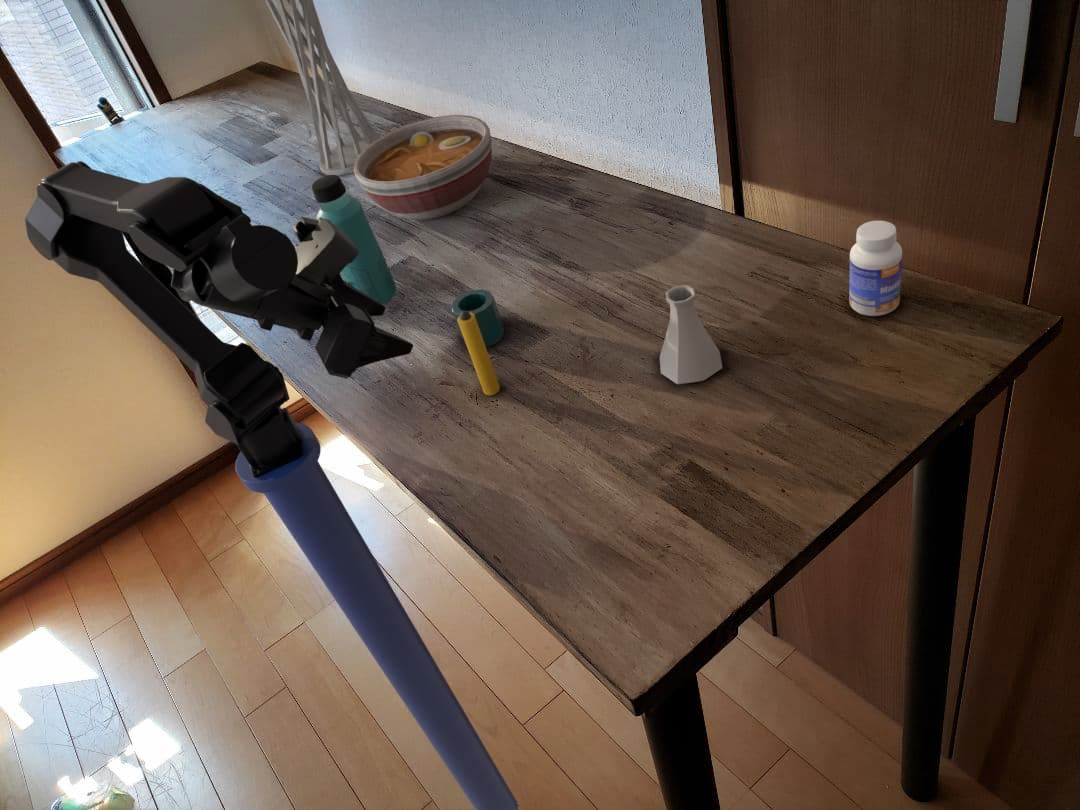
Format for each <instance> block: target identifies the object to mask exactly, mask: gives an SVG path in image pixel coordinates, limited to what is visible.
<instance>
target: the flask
mask: <svg viewBox="0 0 1080 810" xmlns="http://www.w3.org/2000/svg"><path fill="white" fill-rule="evenodd" d="M695 291H696V290H695V288H693V286H690V285H688V284H681V285H675V286H674V287H671V288H670V289H669V290H667V291H665V298H666V303H668V304H669V308H670V309H669V310H670V312H669V314H670V315H669V321H668V326H667V329H666V335H665V338H664V340H663V343H662V347H661V350H660V354H659V365H660V366H659V367H660V368H659V369H660V374H661V375H663V376H664V377H666V378H667V379H669V380H670V381H672V382H673V383H674V384H676V385H683V384H690V383H697V382H704V381H706V380H707V379H708V378H710V377H711V376H713V375H715V374H716V373H717V372H719V371H720V370H722V369H723V362H722V358H721V357H722V356H721V352H720V350H719V348H718V347H717V345H716V344H715V342H714V340H713V339H712V337H711V336H710V334H709V333H708V331H707V329H706V328H705V326H704V324H703V323H702V321H701V319H700V317H699V315H698V312H697V310H696V307H695V303H694V301H695V300H696V292H695Z"/></svg>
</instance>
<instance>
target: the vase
mask: <svg viewBox="0 0 1080 810" xmlns="http://www.w3.org/2000/svg"><path fill="white" fill-rule="evenodd" d="M263 1H264V3H265V4H266V6H267V7H268V9H269V12H270V14H271V15H272V17H273V19H274V21H275V23H276V24H277V26H278V28H279V31H280V32H281V34H282V36H283V38H284V40H285V42H286V44H287V45H288V48H289V50H290V52H291V53H292V56H293V59H294V62H295V64H296V68H297V70H298V75H299V77H300V79H301V83H302V86H303V90H304V93H305V95H306V98H307V101H308V104H309V107H310V111H311V116H312V121H313V127H314V131H315V136H316V142H317V147H318V153H319V158H320V159H319V162H318V167H319V169H320V172H321V173H323V174H325V175H326V176H328V175H337V176H339V177H340V176H344V175H348V174H352V173H355V172H354V165H355V162H356V160H357V158H358V156H359V155H360V154H361V153H362V152H363V151H364V149H366V148H367V147H368V146H369V145H370V144H372V143H373V142H374V141H376V140H378V139H379V138H380V137H379V135H378V134H377V133H376V131H375V129H374V128H373V126H372V125H371V123H370V122H369V120H368V118H367V117H366V115H365V113H364V112H363V111H362V109H361V108H360V106H359V104H358V102H357V101H356V100H355V98H354V96H353V94H352V93H351V92H350V90H349V87H348V86H347V84H346V82H345V79H344V77H343V75H342V73H341V71H340V69H339V67H338V65H337V63H336V61H335V59H334V57H333V55H332V53H331V50H330V49H329V47H328V44H327V41H326V38H325V34H324V31H323V28H322V25H321V22H320V19H319V15H318V13H317V10H316V7H315V4H314V3H315V2H314V0H298V3H299V5H300V6H301V11H302V14H301V12H300V11H299V9H298V8H297V2H296V0H285V1H286V2H287V4H288V5H289V7H290V11H291V15H292V16H291V15H290V13H289V12H288V11H287V9H286V8H285V5H284V3H283V0H263ZM301 26H302V27H303V29H304V31H305V34H303V32H302V30H301ZM294 34H295V35H296V37H295V35H294ZM315 48H316V49H317V52H316V51H315V50H316V49H315ZM305 50H306V51H307V52H308V55H307V54H306V51H305ZM318 67H319V69H320V70H321V73H322V76H321V75H320V73H319V71H318ZM309 71H310V72H311V75H310V73H309ZM311 76H312V77H311ZM322 77H323V78H322ZM331 86H332V87H333V89H334V91H335V92H336V95H337V98H338V100H337V99H336V97H335V96H334V94H333V93H332V89H331ZM321 89H322V90H323V92H324V94H325V95H326V99H327V105H328V109H329V110H328V109H327V107H326V105H325V103H324V101H323V98H322V91H321ZM338 101H339V102H338ZM349 111H350V112H349ZM336 112H337V113H338V114H339V117H340V118H341V119H342V120H343V122H344V123H345V125H346V126H347V129H348V132H349V135H350V138H351V140H348V141H345V142H344V141H343V139H342V137H341V134H340V129H339V128H340V127H339V123H338V118H337V113H336ZM350 113H351V114H352V115H353V117H354V119H355V120H356V122H357V123H358V127H359V128H360V129H361V132H362V134H363V136H364V137H362V136H361V135H360V133H359V132H358V131H357V129H356V128H355V126H354V125H353V122H352V119H351V115H350ZM326 121H327V123H328V126H329V127H330V130H331V131H332V133H333V135H334V138H335V145H336V146H335V147H333V148H330V144H329V140H328V133H327V132H328V131H327V126H326Z"/></svg>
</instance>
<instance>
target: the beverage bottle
mask: <svg viewBox="0 0 1080 810" xmlns="http://www.w3.org/2000/svg"><path fill="white" fill-rule="evenodd" d="M311 190H312V193H313V195H314V200H315V201H316V202H317V203H319V204H321V205H320V207H319V210H317V211H318V212H317V213H316V220H318V219H319V218H320V217H321V218H323V219H327V220H330V221H331V222H332V224H333V225H335V226H336V227H337V228H338V229H339V230H341V231H342V232H343V233H344V234H345V235H347V236H348V237H349V238H350V239H351V241H352V242H353V244H354V245H355V246H356V247H357V248H358V255H357V257H356V258H355V260H354V261H353V262H352V263H349V264H347V266H346V267H345V268H344V269H343V270H342V271H341V272H340V273H341V275H342V276H343V280H344V281H345V282H347V283H348V284H350V285H351V286H353V287H355V288H356V289H358V290H360V291H361V292H363V293H364V294H366V295H368V296H369V297H371V298H373V299H374V300H376V301H378V302H379V303H381V304H383V305H385V304H386V303H388V302H390V301H391V300H392V299H393V298H394V297H395V295H396V293H397V283H396V281H395V280H396V279H395V278H394V276H393V272H392V271H391V269H390V266H389V264H388V262H387V259H386V258H385V257H384V256H385V255H384V252H383V250H382V248H381V246H380V244H379V242H378V239H377V237H376V235H375V234H374V232H373V229H372V227H371V225H370V222H369V220H368V218H367V216H366V212H365V211H364V209H363V206H362V203H361V202H360V200H358V199H357V198H355V197H353V196H349V195H345V194H346V192H347V189H346V186H345V184H344V182H343V181H342V179H341V178H340V175H339V176H337V175H325V176H322V177H319V178H318V179H316V180H314V182H313V183H312V184H311Z"/></svg>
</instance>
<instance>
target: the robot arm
mask: <svg viewBox="0 0 1080 810" xmlns="http://www.w3.org/2000/svg"><path fill="white" fill-rule="evenodd" d="M36 192H37V193H36V194H37V197H36V198H35V200H34V201H33V204H32V205H31V207H30V209H29V210H28V212H27V214H26V216H25V218H24V222H25V229H26V235H27V239H28V240H29V242H30V243H31V246H32V247H34V249H35V250H36V251H37V252H38V253H39V254H40V255H41V256H42V257H43V258H44V259H45V260H48V261H54V263H56V265H58V266H60V268H61V269H63V270H64V271H65V272H66V273H68V274H69V275H72V276H76V277H80V278H84V279H88V280H90V281H95V282H98V283H99V284H101V286H102V287H104V289H106V290H107V291H108V292H109V293H110V294H111V295H112V297H114V298H115V299H116V300H117V301H118V302H119V303H120V304H121V305H122V306H124V308H126V309H127V310H128V311H129V312H130V313H131V314H132V315H133V316H134V317H135V318H136V319H137V320H138V321H139V322H140V323H141V324H142V325H144V326H145V328H147V330H148V331H150V332H151V333H152V334H153V335H154V336H155V337H156V338H157V339H158V340H159V341H160V342H161V343H162V344H163V345H165V346H166V348H167V349H169V350H170V351H171V352H172V353H173V354H174V355H175V357H177V358H178V359H179V360H180V361H181V362H182V363H183V364H184V365H185V366H187V367H188V368H189V369H190V370H191V372H192V373H193V374H194V377H195V382H196V385H197V390H198V394H199V397H200V399H201V401H202V402H203V403H204V404H205V405H206V406H207V410H206V413H205V414H206V415H205V419H204V423H205V424H206V425H207V426H208V427H209V429H210V430H211V431H212V432H213V433H214V434H215V435H216V436H218V437H220V438H223V439H224V440H226V441H229V442H231V443H233V444H235V445H236V446H237V448H238V450H240V452H242V454H243V455H244V457H245V458H246V460H247V461H248V463H249V464H250V468H251V473H252V475H253V477H255V478H256V477H259V476H261V475H263V474H265V473H268V472H270V471H272V470H274V469H276V468H279V467H281V466H283V465H285V464H287V463H289V462H292V461H294V460H296V459H298V458H300V457H302V456H303V450H302V447H301V443H302V441H303V440H302V437H301V433H300V430H299V428H298V427H297V425H296V423H297V422H295V420H294V418H293V417H292V414H291V413H290V411H289V409H288V408H287V407H282V405H285V403H286V402H288V401H289V400H291V398H290V395H289V392H288V388H287V384H286V381H285V378H284V374H283V373H282V372H281V371H280V368H279V367H278V366H276V365H274V364H273V363H272V362H270V361H268V360H265V359H264V358H263V357H261V355H259V354H258V353H257V352H256V350H255V349H254V348H253V347H252V346H251V345H249V344H247V343H245V342H240V343H239V344H237V345H235V344H232V343H227V342H224V341H222V340H221V338H219V337H218V336H217V334H215V333H214V332H213V331H212V330H211V329H210V328H209V327H208V326H207V325H206V324H205V323H203V321H201V319H199V318H198V316H197V315H195V314H194V313H193V312H192V311H191V310H190V309H189V308H188V307H187V306H186V305H185V304H184V303H183V302H186V303H187V302H191V301H192V302H193V303H194V304H196V305H199V306H201V307H205V308H209V309H213V310H215V311H221V312H224V313H228V314H232V315H235V316H240V317H242V318H243V317H244V318H248V319H252V320H254V321H256V322H257V323H258V326H259V328H260V329H261V330H265V331H268V332H271V331H272V330H273V326H278V327H282V328H286V329H289V330H293V331H296V333H297V334H298V336H299V338H300V339H301V340H304V341H309V342H311V341H312V338H313V336H314V334H315V332H316V331H319V330H320V329H321V327H322V328H323V329H322V330H321V333H320V335H319V338H318V340H317V342H316V345H315V347H314V348H315V352H316V353H317V355H318V357H319V359H320V360H321V362H322V364H323V366H324V368H325V369H326V371H327V373H328V375H329V376H333V377H337V378H343V379H349V378H351V377H352V375H353V374H354V373H355V372H356V371H357V369H358V368H361V367H365V366H368V365H370V364H375V363H378V362H381V361H386V360H389V359H394V358H399V357H403V356H406V355H410V354H411V353H412V350H413V349H414V344H413V343H412V342H411V341H408V340H407V339H405V338H402V337H400V336H397V335H395V334H393V333H391V332H388V331H387V330H384V329H382V328H379V327H377V326H376V325H375V321H374V320H373V318H372V317H379V316H383V315H384V313H385V311H386V306H385V304H381V303H379V302H378V301H376V300H374V299H373V298H371V297H369V296H368V295H366V294H364V293H363V292H361V291H360V290H358V289H356V288H355V287H353V286H351V285H350V284H348V283H347V282H346V281H345V279H343V278H342V274H341V273H342V272H341V271H342V270H343V269H344V268H345V267H346V266H347V264H349V263H352V262H353V261H354V260H355V258H356V257H357V255H358V248H357V247H356V246H355V245H354V244H353V242H352V241H351V239H350V238H349V237H348V236H347V235H345V234H344V233H343V232H342V231H341V230H339V229H338V228H337V227H336V226H335V225H333V224H332V222H331V221H330V220H327V219H323V218H321V217H320V218H319V219H318V220H317V219H315V218H310V217H306V216H300V217H299V218H298V219H297V221H295V223H294V224H293V225H292V229H293V232H294V234H295V237H296V238H297V241H298V242H299V244H298V243H295V244H293V242H292V240H291V239H290V238H289V237H288V236H287V234H285V233H282V232H281V231H280V230H279V229H276V228H274V227H272V226H268V225H264V224H257V225H255V224H254V225H252V224H251V223H252V219H251V217H250V216H249V215H248V214H246V213H245V212H243V209H242V207H241V206H240V205H238V204H236V203H234V202H232V201H231V200H228V199H226V198H225V197H223V196H221V195H219V194H217V193H216V192H214V190H211V189H210V188H209V187H207V186H206V185H204V184H202V183H200V182H197V181H196V180H194V179H192V178H190V177H186V176H167V177H164V178H161V179H157V180H154V181H151V182H139V181H136V180H132V179H129V178H126V177H122V176H118V175H114V174H111V173H108V172H104V171H101V170H97V169H94V168H92V167H91V166H90V165H88V163H86V162H84V161H82V160H77V161H76V162H75V161H72V162H71V161H70V162H69V163H67V164H65V165H64V166H62V167H60V168H58V169H57V170H55V171H53V172H52V173H50V174H48V175H47V176H44V177H43V178H41V180H40V183H38V184H36ZM123 232H124V233H127V234H129V236H130V238H131V240H132V241H133V243H134V245H135V246H136V247H137V248H138V249H139V251H140V252H141V253H143V254H144V255H145V256H146V257H148V258H150V259H151V260H153V261H155V262H158V263H160V264H162V265H165V266H166V267H169V268H171V269H173V272H172V275H171V276H172V277H171V282H170V286H171V288H173V289H174V290H175V291H176V292H177V294H178V297H179V298H180V299H181V300H182V301H183V302H182V301H181V300H180V299H178V297H177V296H175V294H173V293H172V292H171V291H170V289H168V288H167V287H166V286H165V285H164V284H163V283H162V282H161V281H160V280H159V279H158V278H157V277H156V276H155V275H154V274H153V273H152V272H150V271H149V269H147V268H146V267H145V266H144V264H142V263H141V262H140V260H138V259H137V258H136V257H135V256H134V255H133V254H132V253H131V252H130V251H129V250H128V248H127V245H126V241H125V237H124V236H125V235H124V233H123Z"/></svg>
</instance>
